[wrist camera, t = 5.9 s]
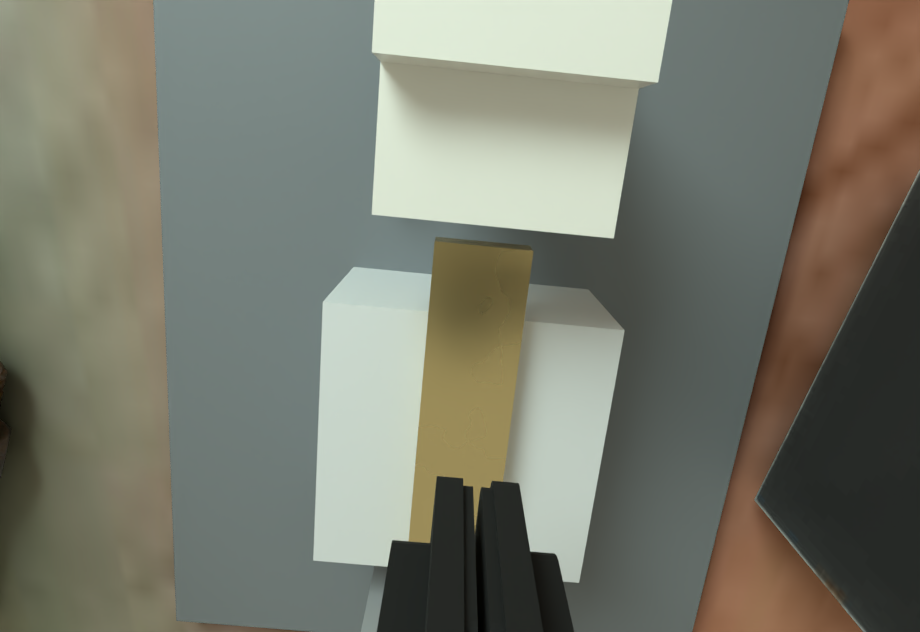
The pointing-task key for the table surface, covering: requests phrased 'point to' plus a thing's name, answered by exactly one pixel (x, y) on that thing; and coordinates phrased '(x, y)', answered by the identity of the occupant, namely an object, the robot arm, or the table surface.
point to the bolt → (1, 429)
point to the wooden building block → (468, 368)
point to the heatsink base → (317, 219)
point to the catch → (511, 109)
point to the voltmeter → (862, 447)
